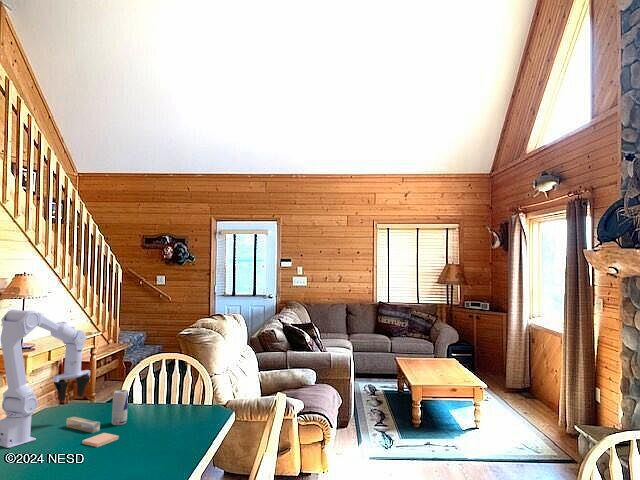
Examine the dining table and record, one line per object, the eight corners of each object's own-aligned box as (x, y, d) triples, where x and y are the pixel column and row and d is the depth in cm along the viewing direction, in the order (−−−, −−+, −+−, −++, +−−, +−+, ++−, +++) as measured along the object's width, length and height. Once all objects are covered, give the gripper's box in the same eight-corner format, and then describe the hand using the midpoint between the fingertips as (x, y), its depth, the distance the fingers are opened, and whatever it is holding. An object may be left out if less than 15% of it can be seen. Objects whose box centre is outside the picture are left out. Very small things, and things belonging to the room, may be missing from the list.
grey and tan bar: (92, 433, 177) (93, 424, 177) (66, 426, 183) (66, 418, 183) (99, 430, 180) (100, 422, 180) (73, 424, 186) (73, 416, 186)
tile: (82, 445, 166) (97, 448, 163) (82, 440, 166) (97, 443, 163) (103, 437, 174) (118, 440, 171) (104, 432, 174) (118, 435, 171)
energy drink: (129, 421, 191) (130, 390, 192) (122, 425, 185) (124, 393, 186) (116, 420, 191) (117, 389, 192) (108, 425, 186) (110, 392, 187)
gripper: (63, 365, 181) (60, 403, 180) (96, 359, 194) (94, 395, 193) (50, 363, 184) (48, 400, 183) (84, 358, 197) (82, 392, 196)
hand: (71, 397), depth 188 cm, fingers open, 7 cm apart
